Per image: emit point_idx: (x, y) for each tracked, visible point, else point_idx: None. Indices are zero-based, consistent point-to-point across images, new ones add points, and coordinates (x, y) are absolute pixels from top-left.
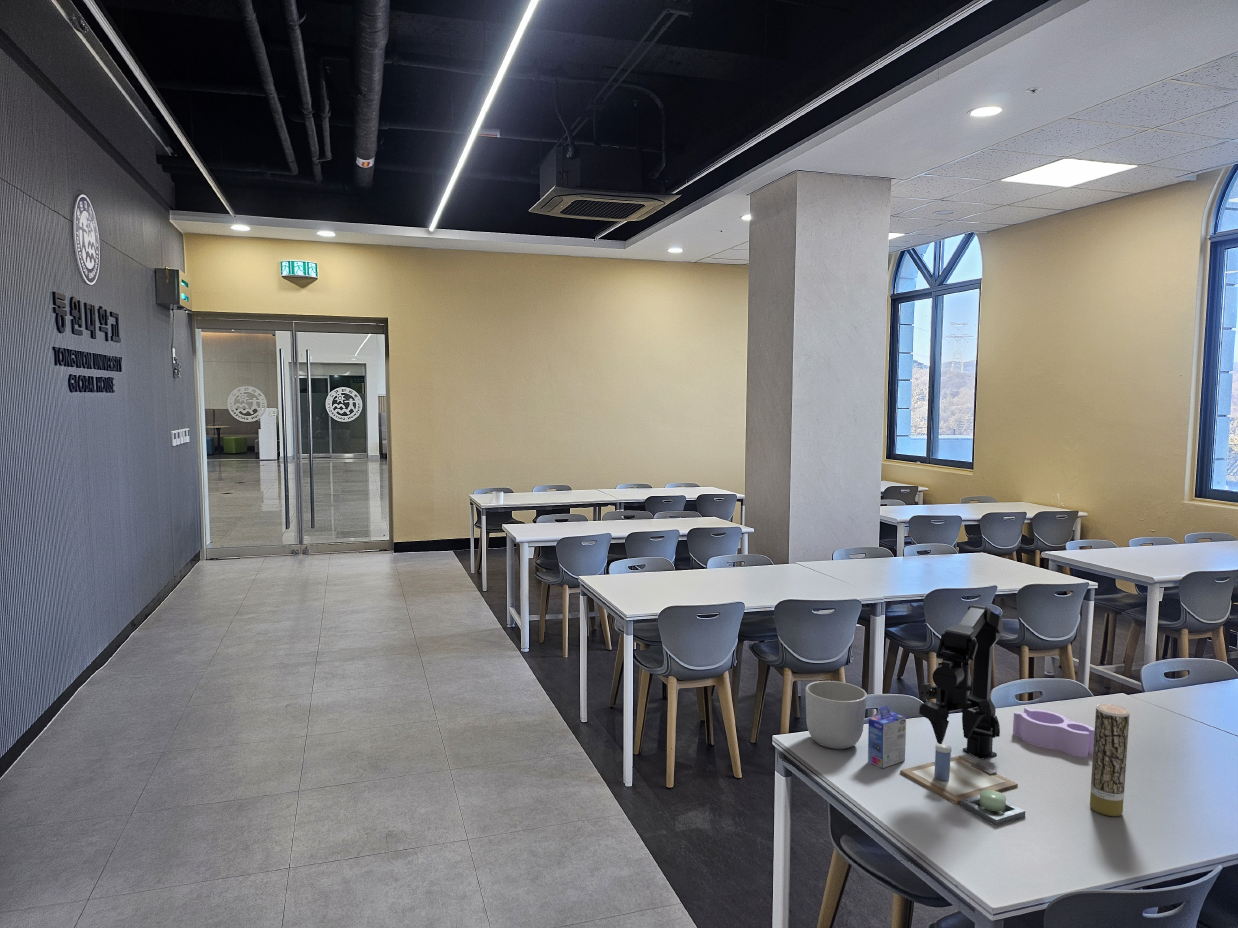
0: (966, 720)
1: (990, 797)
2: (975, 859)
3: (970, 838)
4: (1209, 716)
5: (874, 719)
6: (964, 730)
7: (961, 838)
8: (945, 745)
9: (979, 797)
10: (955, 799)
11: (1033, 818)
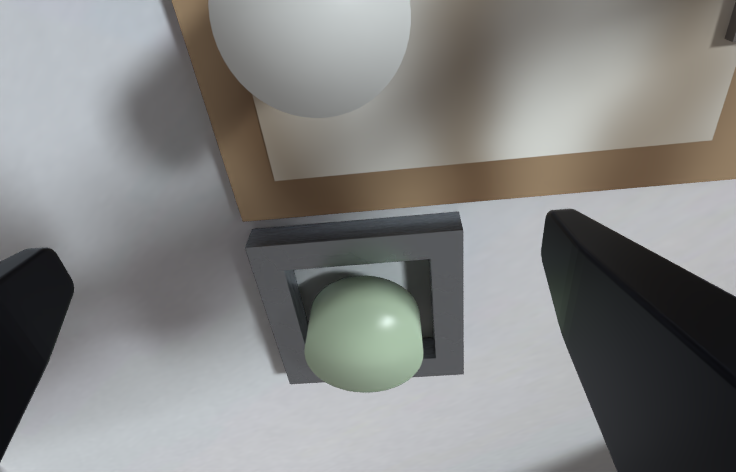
0: (711, 459)
1: (334, 363)
2: (99, 444)
3: (146, 385)
4: None
5: None
6: (582, 280)
7: (113, 378)
8: (352, 12)
9: (365, 254)
10: (247, 207)
11: (480, 365)
